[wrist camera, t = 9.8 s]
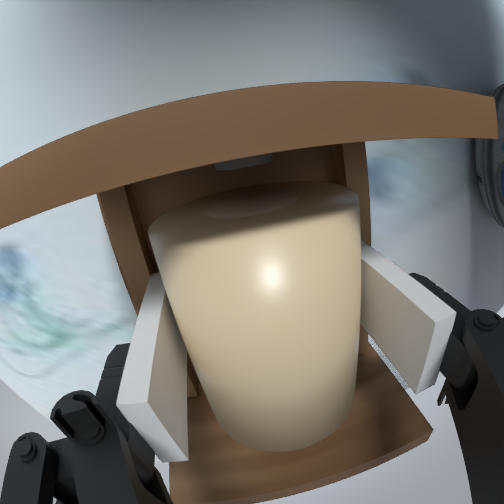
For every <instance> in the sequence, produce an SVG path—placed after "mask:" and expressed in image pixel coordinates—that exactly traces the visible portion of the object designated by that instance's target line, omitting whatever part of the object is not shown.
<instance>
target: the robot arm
mask: <svg viewBox="0 0 504 504" xmlns="http://www.w3.org/2000/svg"><path fill="white" fill-rule="evenodd" d="M360 324H361V325H362V326H363V328H364V329H365V330H366V331H367V333H368V334H369V335H370V336H371V338H372V339H373V340H374V341H375V343H376V344H377V345H378V346H379V348H380V349H381V350H382V351H383V353H384V354H385V355H386V357H387V358H388V359H389V360H390V362H391V363H392V364H393V366H394V367H395V368H396V369H397V371H398V372H399V373H400V375H401V376H402V377H403V379H404V380H405V381H406V383H407V384H408V385H409V386H410V388H411V389H412V390H413V392H414V393H415V394H417V393H419V392H421V391H423V390H425V389H427V388H429V387H431V386H432V385H434V384H435V382H436V379H437V377H438V374H439V371H440V372H441V373H442V374H443V375H444V376H445V377H446V380H445V382H444V385H443V388H442V390H441V392H440V395H439V397H438V400H437V402H438V406H439V405H441V404H442V401H443V399H444V397H445V395H446V401H445V404H449V406H450V410H451V413H452V416H453V420H454V423H455V427H456V430H457V434H458V437H459V441H460V445H461V449H462V453H463V457H464V461H465V466H466V470H467V475H468V480H469V485H470V490H471V497H472V502H473V504H504V318H501V317H500V316H499V315H498V314H496V313H494V312H492V311H490V310H485V309H476V310H474V311H470V310H469V309H467V308H466V307H465V306H464V305H462V304H461V303H460V302H458V301H457V300H456V299H455V298H453V297H452V296H451V295H449V294H448V293H447V292H444V290H443V289H441V288H440V287H439V286H436V284H435V283H433V282H432V281H431V280H429V279H428V278H426V277H424V276H421V275H419V274H416V273H411V274H407V273H406V272H405V271H403V270H402V269H401V268H399V267H398V266H397V265H395V264H394V263H392V262H391V261H390V260H388V259H387V258H386V257H384V256H383V255H381V254H380V253H379V252H377V251H376V250H375V249H373V248H372V247H370V246H369V245H367V244H366V243H365V242H363V241H362V240H361V312H360ZM50 419H51V420H52V421H53V422H54V423H55V424H56V426H57V427H58V428H59V429H60V430H61V431H62V432H63V433H64V434H65V435H66V436H67V438H63V439H60V440H56V441H52V442H47V441H46V440H45V439H44V438H43V437H42V436H41V435H39V434H38V433H34V432H30V433H25V434H23V435H22V436H20V437H19V438H18V439H17V440H16V441H15V442H14V444H13V446H12V449H11V452H10V456H9V460H8V464H7V468H6V472H5V477H4V482H3V487H2V493H1V498H0V504H53V497H54V498H56V499H57V501H56V504H173V502H172V500H171V498H170V495H169V493H168V491H167V489H166V486H165V484H164V482H163V479H162V477H161V474H160V473H159V471H158V470H157V469H156V468H155V466H154V460H155V455H156V456H157V457H158V458H159V459H160V460H161V461H162V462H163V463H164V462H178V461H188V460H189V457H188V431H187V348H186V346H185V343H184V341H183V338H182V335H181V333H180V330H179V327H178V324H177V322H176V319H175V316H174V313H173V310H172V308H171V305H170V302H169V299H168V296H167V293H166V290H165V287H164V284H163V281H162V278H161V275H160V272H156V273H151V276H150V279H149V282H148V285H147V288H146V291H145V295H144V298H143V301H142V304H141V308H140V311H139V315H138V318H137V322H136V325H135V329H134V332H133V336H132V340H131V343H127V344H121V345H116V346H115V348H114V349H113V350H112V351H111V353H110V354H109V355H108V357H107V360H106V363H105V366H104V370H103V372H102V376H101V380H100V382H99V386H98V389H97V393H96V396H95V395H94V394H92V393H91V392H89V391H84V390H80V391H74V392H71V393H69V394H67V395H65V396H63V397H62V398H61V399H60V400H59V401H58V402H57V403H56V404H55V406H54V408H53V409H52V412H51V416H50Z"/></svg>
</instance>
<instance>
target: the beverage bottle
mask: <svg viewBox="0 0 504 504" xmlns="http://www.w3.org/2000/svg"><path fill="white" fill-rule="evenodd" d="M489 97H494V98H495V105H496V114H497V125H498V139H489V138H475V164H476V173H477V175H478V176H480V177H481V178H479V179H478V184H479V189H480V192H481V195H482V198H483V201H484V203H485V205H486V207H487V209H488V210H489V211H490V213H491V214H492V216H493V217H494V218H495V220H496V221H497V222H498V223H499V225H500V226H502V227H504V84H502V85H501V86H499V87H498V88H496V89H495V90H494V91H493V92H492V93H490V94H489Z"/></svg>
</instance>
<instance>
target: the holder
mask: <svg viewBox="0 0 504 504" xmlns="http://www.w3.org/2000/svg"><path fill="white" fill-rule="evenodd" d="M411 138H489V139H498V125H497V114H496V105H495V98H494V97H489V96H485V95H480V94H475V93H470V92H465V91H459V90H454V89H447V88H440V87H433V86H425V85H415V84H404V83H391V82H369V81H325V82H303V83H289V84H277V85H268V86H259V87H251V88H243V89H236V90H230V91H224V92H218V93H212V94H207V95H202V96H197V97H192V98H187V99H183V100H178V101H174V102H170V103H166V104H162V105H158V106H154V107H150V108H147V109H143V110H139V111H136V112H133V113H129V114H126V115H123V116H120V117H116V118H113V119H110V120H107V121H104V122H101V123H99V124H96V125H93V126H90V127H87V128H85V129H82V130H80V131H77V132H74V133H72V134H69V135H67V136H64V137H62V138H60V139H57V140H55V141H53V142H50V143H48V144H46V145H44V146H41V147H39V148H37V149H35V150H33V151H31V152H29V153H27V154H25V155H23V156H21V157H19V158H17V159H15V160H13V161H11V162H9V163H7V164H5V165H3V166H2V167H0V229H2V228H4V227H6V226H9V225H11V224H14V223H16V222H19V221H21V220H24V219H26V218H29V217H31V216H34V215H36V214H39V213H42V212H44V211H47V210H50V209H53V208H55V207H58V206H61V205H64V204H67V203H70V202H73V201H76V200H79V199H82V198H85V197H88V196H91V195H94V194H97V198H98V201H99V205H100V209H101V212H102V216H103V219H104V223H105V226H106V229H107V232H108V236H109V239H110V242H111V245H112V248H113V251H114V254H115V257H116V260H117V263H118V266H119V269H120V271H121V274H122V277H123V280H124V282H125V285H126V288H127V290H128V293H129V296H130V298H131V301H132V303H133V306H134V308H135V311H136V313H137V315H139V311H140V308H141V304H142V301H143V298H144V295H145V291H146V288H147V285H148V282H149V279H150V276H151V273H156V272H159V268H158V265H157V262H156V259H155V255H154V252H153V249H152V245H151V242H150V239H149V235H148V229H149V227H150V225H151V224H152V223H153V222H154V221H155V220H156V219H157V218H159V217H160V216H162V215H163V214H165V213H166V212H168V211H170V210H172V209H174V208H176V207H178V206H181V205H183V204H185V203H188V202H191V201H193V200H196V199H199V198H202V197H205V196H209V195H212V194H216V193H219V192H223V191H228V190H232V189H237V188H242V187H247V186H253V185H260V184H268V183H278V182H294V181H313V182H326V183H333V184H338V185H342V186H345V187H348V188H350V189H352V190H354V191H355V192H356V193H357V194H358V197H359V210H360V232H361V240H362V241H363V242H365V243H366V244H367V245H369V246H370V247H371V219H370V198H369V182H368V170H367V159H366V149H365V141H376V140H391V139H411ZM187 431H188V457H189V460H188V461H178V462H169V482H170V498H171V500H172V502H173V504H253V503H259V502H264V501H269V500H274V499H278V498H282V497H287V496H291V495H295V494H298V493H302V492H305V491H309V490H312V489H316V488H319V487H322V486H325V485H328V484H331V483H335V482H337V481H340V480H343V479H346V478H348V477H351V476H354V475H356V474H359V473H361V472H364V471H366V470H368V469H371V468H373V467H376V466H378V465H380V464H383V463H385V462H387V461H389V460H391V459H393V458H395V457H397V456H399V455H401V454H403V453H405V452H407V451H409V450H411V449H413V448H415V447H417V446H419V445H420V444H422V443H424V442H426V441H427V440H428V439H429V437H430V435H431V433H432V431H433V428H432V427H431V426H430V424H429V423H428V421H427V420H426V419H425V417H424V416H423V414H422V413H421V412H420V410H419V409H418V408H417V406H416V405H415V404H414V402H413V401H412V399H411V398H410V397H409V395H408V394H407V392H406V391H405V390H404V388H403V387H402V386H401V384H400V383H399V382H398V380H397V379H396V378H395V376H394V375H393V374H392V372H391V371H390V370H389V368H388V367H387V366H386V364H385V363H384V362H383V360H382V359H381V358H380V356H379V355H378V354H377V353H376V351H375V350H374V349H373V347H372V346H371V345H370V343H369V342H368V333H367V331H366V330H365V329H364V328H363V326H362V325H361V324H360V333H359V349H358V362H357V373H356V383H355V392H354V400H353V404H352V407H351V410H350V412H349V414H348V416H347V417H346V419H345V420H344V422H343V423H342V424H341V425H340V426H339V428H338V429H337V430H335V431H334V432H333V433H332V434H331V435H329V436H328V437H326V438H325V439H323V440H322V441H320V442H318V443H316V444H314V445H311V446H308V447H305V448H302V449H298V450H294V451H286V452H268V451H261V450H257V449H253V448H250V447H247V446H245V445H243V444H241V443H239V442H237V441H236V440H234V439H233V438H231V437H230V436H229V435H228V434H227V433H226V432H225V431H224V430H223V429H222V428H221V426H220V424H219V423H218V421H217V419H216V417H215V415H214V412H213V410H212V408H211V406H210V404H209V401H208V399H207V397H206V394H205V392H204V390H203V388H202V385H201V383H200V380H199V378H198V376H197V373H196V371H195V368H194V366H193V363H192V361H191V358H190V356H189V353H188V351H187Z"/></svg>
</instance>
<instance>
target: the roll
mask: <svg viewBox="0 0 504 504" xmlns="http://www.w3.org/2000/svg"><path fill="white" fill-rule="evenodd" d="M148 235H149V239H150V242H151V245H152V249H153V252H154V255H155V259H156V262H157V265H158V268H159V272H160V275H161V278H162V281H163V284H164V287H165V290H166V293H167V296H168V299H169V302H170V305H171V308H172V310H173V313H174V316H175V319H176V322H177V324H178V327H179V330H180V333H181V335H182V338H183V341H184V343H185V346H186V348H187V351H188V353H189V356H190V358H191V361H192V363H193V366H194V368H195V371H196V373H197V376H198V378H199V380H200V383H201V385H202V388H203V390H204V392H205V394H206V397H207V399H208V401H209V404H210V406H211V408H212V410H213V412H214V415H215V417H216V419H217V421H218V423H219V424H220V426H221V428H222V429H223V430H224V431H225V432H226V433H227V434H228V435H229V436H230V437H231V438H233V439H234V440H236V441H237V442H239V443H241V444H243V445H245V446H247V447H250V448H253V449H257V450H261V451H268V452H286V451H294V450H298V449H302V448H305V447H308V446H311V445H314V444H316V443H318V442H320V441H322V440H323V439H325V438H326V437H328V436H329V435H331V434H332V433H333V432H334V431H335V430H337V429H338V428H339V426H340V425H341V424H342V423H343V422H344V420H345V419H346V417H347V416H348V414H349V412H350V410H351V407H352V404H353V400H354V392H355V383H356V373H357V362H358V349H359V333H360V312H361V232H360V210H359V197H358V194H357V193H356V192H355V191H354V190H352V189H350V188H348V187H345V186H342V185H338V184H333V183H326V182H313V181H294V182H278V183H268V184H260V185H253V186H247V187H242V188H237V189H232V190H228V191H223V192H219V193H216V194H212V195H209V196H205V197H202V198H199V199H196V200H193V201H191V202H188V203H185V204H183V205H181V206H178V207H176V208H174V209H172V210H170V211H168V212H166V213H165V214H163V215H162V216H160V217H159V218H157V219H156V220H155V221H154V222H153V223H152V224H151V225H150V227H149V229H148Z"/></svg>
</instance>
